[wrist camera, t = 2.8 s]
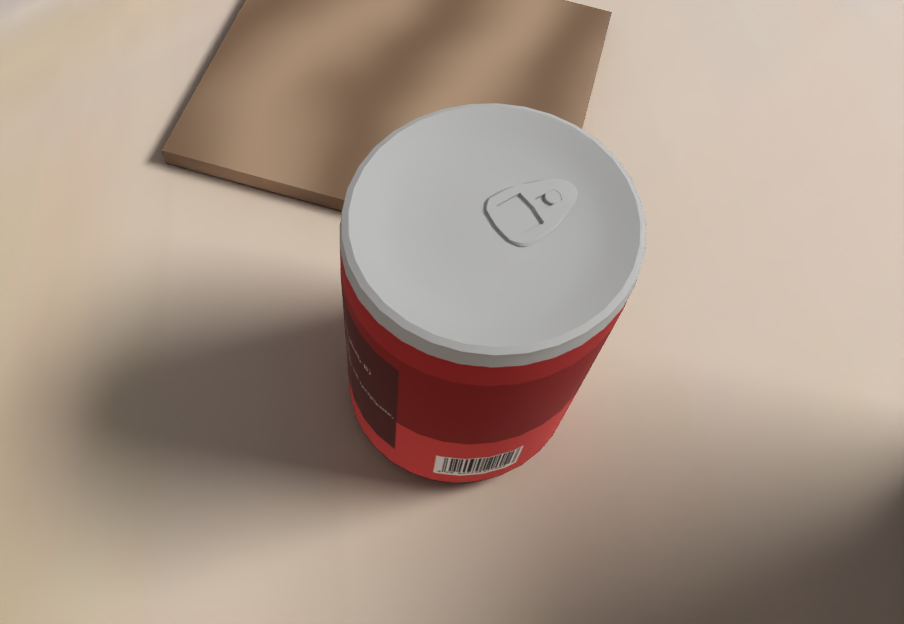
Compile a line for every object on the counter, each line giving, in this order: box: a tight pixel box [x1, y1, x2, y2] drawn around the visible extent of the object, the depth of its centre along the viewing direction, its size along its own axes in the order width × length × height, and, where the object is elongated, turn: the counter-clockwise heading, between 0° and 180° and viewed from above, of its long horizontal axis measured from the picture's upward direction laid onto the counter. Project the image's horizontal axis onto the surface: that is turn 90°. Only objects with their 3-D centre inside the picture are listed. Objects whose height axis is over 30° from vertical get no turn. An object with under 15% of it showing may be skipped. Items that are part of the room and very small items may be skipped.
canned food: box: [340, 103, 646, 483], centre depth 26 cm, size 8×8×11 cm
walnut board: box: [162, 0, 612, 211], centre depth 37 cm, size 16×14×1 cm
